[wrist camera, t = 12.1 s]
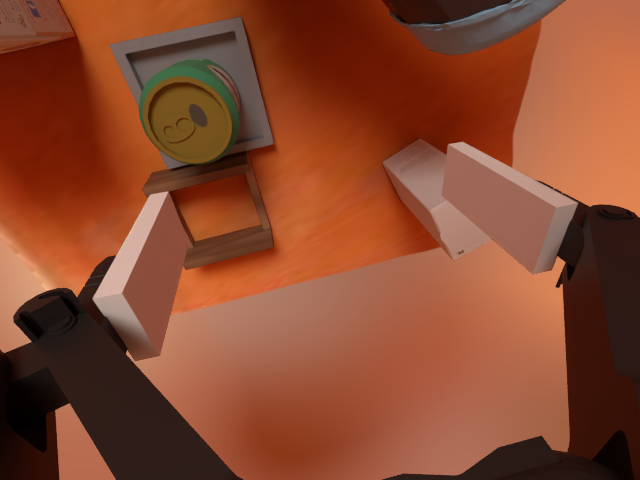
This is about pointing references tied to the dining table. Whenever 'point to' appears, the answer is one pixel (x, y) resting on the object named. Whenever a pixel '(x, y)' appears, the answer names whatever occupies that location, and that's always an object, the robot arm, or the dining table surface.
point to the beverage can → (191, 111)
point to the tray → (209, 43)
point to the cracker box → (31, 24)
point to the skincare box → (432, 198)
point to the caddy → (225, 243)
